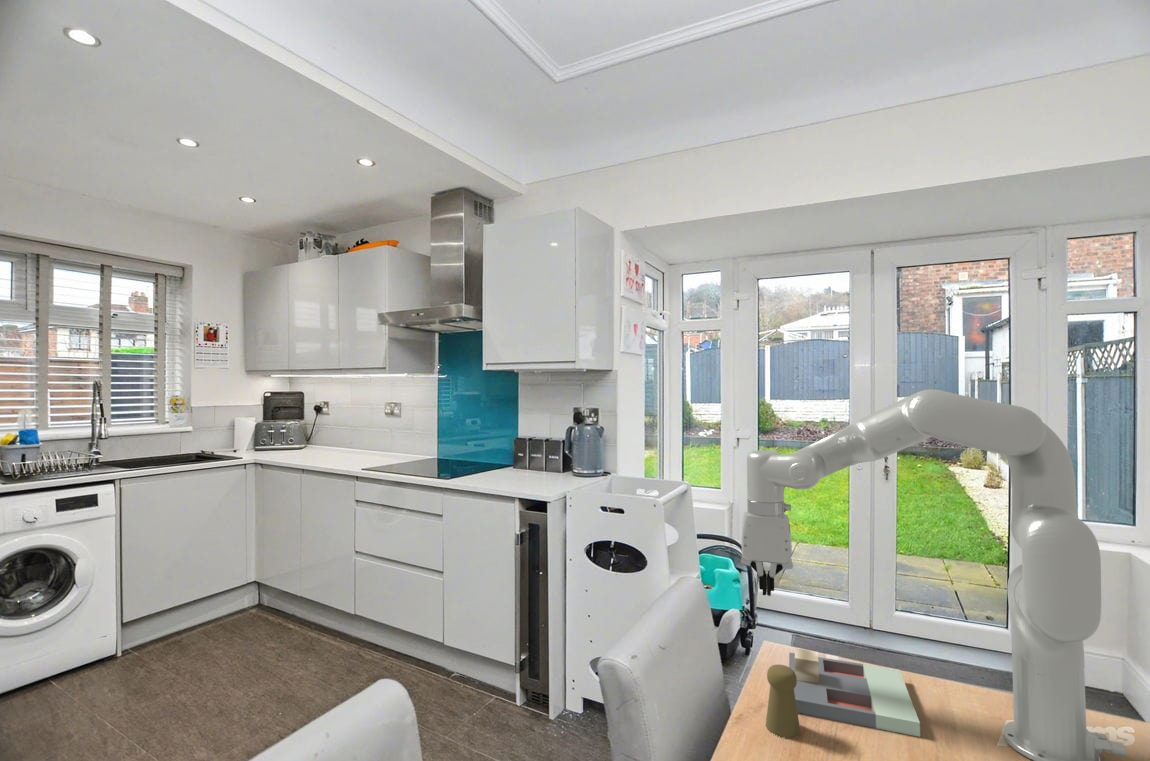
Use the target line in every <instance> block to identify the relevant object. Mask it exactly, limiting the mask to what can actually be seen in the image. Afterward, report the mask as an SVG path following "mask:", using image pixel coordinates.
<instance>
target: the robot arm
mask: <svg viewBox="0 0 1150 761" xmlns="http://www.w3.org/2000/svg"><path fill="white" fill-rule="evenodd" d="M930 438H934V439H937V440H939V441H945V442H949V443H951V444H956V445H960V446H964V447H969V448H973V449H976V450H982V451H986V452H990V453H995V454H998V455H1002V456H1004V457H1005V459H1006V461H1007V463H1008V466H1009V469H1010V470H1009V471H1010V476H1011V477H1010V480H1011V481H1010V482H1011V522H1010V524H1011V525H1010V528H1011V529H1010V531H1011V535H1012V537H1013V540H1014V541H1015V543H1016V544H1017V545H1018V547H1019V548H1020V549H1021V555H1022V556H1021V559H1022V560H1021V564H1020V565H1018V566H1016V567H1015V568H1014V569H1013V570H1012V572H1011V573H1010V575H1009V577H1008V581H1007V585H1006V587H1007V588H1006V589H1007V590H1006V591H1007V601H1008V602H1007V603H1008V609H1009V610H1008V611H1009V617H1010V632H1011V634H1010V635H1011V664H1012V665H1011V666H1012V668H1011V669H1012V695H1013V696H1012V699H1013V721H1009V722H1007V723H1005V724H1004V726H1003V728H1002V729H1003V737H1004V740H1005V741H1006V742H1007V743H1008V745H1009V746H1010V747H1012V748H1013V749H1014V750H1015V751H1016V752H1018V753H1020V754H1021V755H1022V756H1024V757H1026V758H1028V759H1030V760H1032V761H1101V756H1100V755H1099V754H1102V752H1103V753H1109V754H1110V755H1116V756H1120V757H1121V756H1123V757H1126V756H1127V750H1126V746H1125V745H1124V743H1123V742H1120V741H1115V740H1109V739H1108V737H1107V735H1106V734H1105V733H1102V732H1096V731H1095V732H1092V731H1089V730H1088V729H1087V710H1086V709H1087V708H1086V705H1087V704H1086V680H1085V679H1086V676H1085V647H1084V641H1086V640H1088V639H1089V638H1091V637H1092V636H1093V635H1094V634H1095V633H1096V631H1097V630H1098V628H1099V625H1100V622H1101V618H1102V562H1101V560H1102V559H1101V551H1100V546H1099V542H1098V540H1097V538H1096V535H1095V534H1094V532H1093V531H1092V529H1091V527H1089V526H1088V525H1087V524H1086V523H1085V522H1084V521H1082V520H1081V519H1080V518H1079V517H1078V508H1077V506H1078V504H1077V493H1076V492H1077V491H1076V490H1077V489H1076V476H1075V469H1074V465H1073V461H1072V458H1071V455H1070V453H1069V451H1068V449H1067V447H1066V445H1065V443H1064V442H1063V441H1062V440H1061V438H1060V437H1059V436H1058V435H1057V434H1056V432H1055V431H1054V430H1053V429H1052V428H1051V427H1049V426H1048V425H1047V424H1046V423H1044V422H1043V420H1042V419H1041V418H1040V416H1039V415H1038V414H1037V413H1035V412H1034V411H1032V410H1030V409H1028V408H1026V407H1022V406H1018V405H1014V404H1009V403H1002V402H996V401H992V400H987V399H981V398H976V397H972V396H966V395H963V394H959V393H958V394H957V393H953V392H950V391H945V390H943V389H942V390H941V389H929V388H928V389H924V390H920V391H917V392H915V393H913V394H911V395H908V396H907V397H905V398H902V399H901V400H897V401H895V402H894V403H892V404H889V405H888V406H885V407H883V408H882V409H881V408H880V409H879V410H877V411H875V412H873V413H871V414H869V415H866V416H863V417H862V418H860V419H858V420H855V421H853V422H852V423H850V424H848V425H847V426H845V427H844V428H842V429H840V430H838V431H837V432H835V433H833V434H830V435H828V436H826V437H824V438H821V439H820V440H818V441H815V442H813V443H811V444H809V445H807V446H805V447H803V448H800V449H799V450H796V451H794V452H793V453H789V454H781V453H780V452H779V451H775V450H752V451H750V452H749V453H748V454H747V455H746V492H747V493H746V494H747V495H746V496H747V498H746V501H747V504H746V505H747V507H746V508H747V511H745V512H744V513H743V518H742V528H741V529H742V530H741V557H740V563H741V564H742V565H746V566H749V567H751V568H752V569H753V570H754V571H755V572H756V574H757V575H758V581H759V583H758V585H759V586H758V587H759V590H761V591H762V596H766V595H767V596H768V597H771V594H772V592H774V591H775V576H777V575H778V574H779V573H780V572H781V571H785V570H791V569H793V568H794V564H793V559H792V553H793V552H792V551H793V550H792V547H793V546H792V534H791V525H790V519H789V515H788V514H786V512H788V511H789V512H790V511H792V504H788V503H786V502H785V495H784V494H785V492H784V490H785V487H786V488H789V489H794V490H798V491H799V490H801V491H805V490H810V489H812V488H814V487H815V486H816V485H817V484H818V483H819V481H820V480H821V479H824V478H826V477H829V476H830V475H832V474H833V475H834V474H835V473H837V472H839V471H842V470H844V469H847V468H848V467H852V466H855V465H857V464H862V463H868V462H875V461H879V460H882V459H884V458H885V459H886V457H889V456H891V455H894V454H896V453H898V452H900V451H902V450H905V449H906V448H907V449H908V448H909V447H911V446H914V445H916V444H918V443H921V442H923V441H925V440H928V439H930ZM764 563H769V564H770V565H769V570H767V573H766V570H765V567H764Z"/></svg>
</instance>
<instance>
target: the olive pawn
mask: <svg viewBox="0 0 1150 761" xmlns="http://www.w3.org/2000/svg"><path fill="white" fill-rule="evenodd" d="M766 679H767V682H768V684H769V685H770V686H769V692H768V693H769V694H768V702H767V711H766V718H765V719H766V720H765V728H766V727H767V728H766V729H768V730H769V731H768V730H767V731H768V732H769V733H771V734H772V733H773V735H774V734H775V735H774V736H776V735H777V736H776V737H779V736H780V737H779V738H782V737H785V738H784V739H795V738H797V737H799V736H800V734H801V727H800V720H799V713H797V706H796V700H795V693H794V688H795V687H796V684H797V677H796V674H795V672H794V671H793V670H792V669H791V668H789V666H787V665H784V664H773V665H771V666H769V668H768V669H767V672H766ZM794 737H795V738H794Z"/></svg>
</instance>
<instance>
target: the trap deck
mask: <svg viewBox="0 0 1150 761" xmlns="http://www.w3.org/2000/svg"><path fill="white" fill-rule="evenodd" d="M788 654H789V655H788V656H789V658H788V660H789V661H788V667H789V668H791V669H792V670H793V671H794V672H795V652H788ZM818 661H819V684H816V683H810V682H805V681H799V680H797V684H796V687H795V688H794V693H795V700H796V706H797V713H798V714H800V713H802V714H801V715H805V714H806V716H810V715H811V717H816V718H821V719H826V720H831V721H836V722H840V723H841V722H843V723H848V724H850V725H851V724H853V725H856V726H857V725H858V726H862V727H868V728H872V729H877V730H884V731H888V732H893V733H899V734H903V735H907V736H914V737H918V738H920V737H921V725H920V724H921V722H920V720H919V717H918V715H917V711H916V709H915V707H914V705H913V704H914V703H913V702H912V699H911V696H910V692H909V691H908V689H907V685H906V683H905V680H904V678H903V675H902V672H901V670H900V669H896V668H892V667H885V666H878V665H872V666H869V665H870V664H867V663H861V662H858V663H857V662H852V661H846V660H841V659H833V658H828V657H827V658H826V657H820V656H818ZM874 666H876V667H874ZM879 667H881V668H879ZM884 668H886V669H884ZM887 669H890V670H887ZM892 670H896V671H892ZM898 671H900V672H898Z"/></svg>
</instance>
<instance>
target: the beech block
mask: <svg viewBox="0 0 1150 761" xmlns="http://www.w3.org/2000/svg"><path fill="white" fill-rule="evenodd" d="M794 653H795V674H796V677H797V680H799V681H805V682H810V683H816V684H819V661H818V657H819V654H818V651H814V650H807V649H800V648H794Z"/></svg>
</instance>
